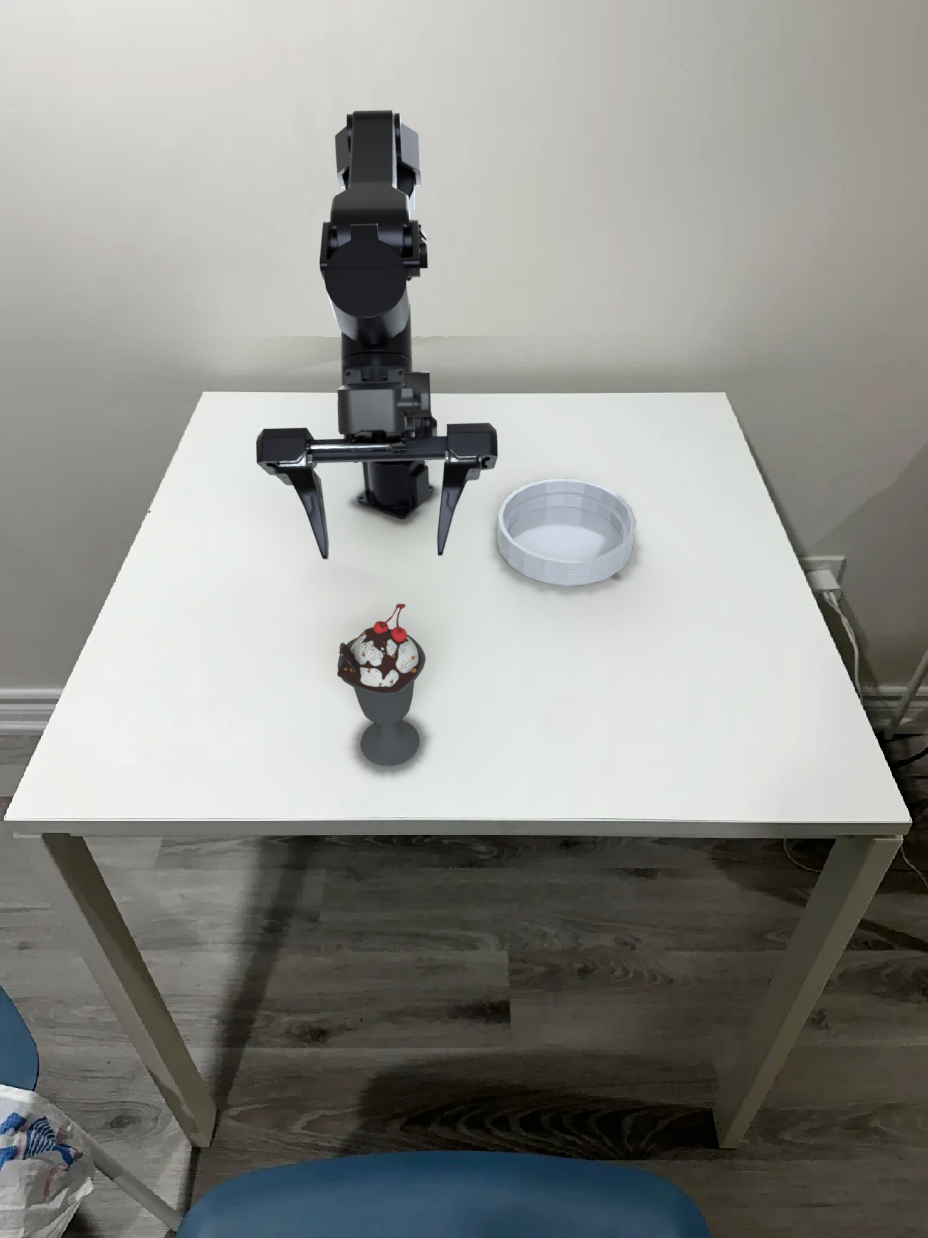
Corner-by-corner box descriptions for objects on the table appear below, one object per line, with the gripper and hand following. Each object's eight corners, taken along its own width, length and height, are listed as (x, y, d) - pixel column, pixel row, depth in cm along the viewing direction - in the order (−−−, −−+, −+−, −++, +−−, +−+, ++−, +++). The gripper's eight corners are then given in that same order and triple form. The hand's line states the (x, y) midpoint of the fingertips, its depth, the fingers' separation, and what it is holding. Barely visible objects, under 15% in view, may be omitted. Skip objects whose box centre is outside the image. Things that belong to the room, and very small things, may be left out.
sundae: (443, 726, 76) (438, 597, 65) (406, 785, 71) (395, 657, 61) (375, 702, 78) (360, 573, 67) (336, 758, 73) (313, 629, 63)
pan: (473, 560, 92) (473, 533, 89) (535, 491, 100) (537, 465, 98) (597, 607, 86) (600, 580, 84) (651, 530, 95) (656, 503, 93)
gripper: (236, 332, 63) (243, 551, 63) (498, 326, 63) (506, 543, 63) (267, 377, 74) (273, 563, 74) (490, 372, 75) (496, 557, 74)
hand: (382, 557), depth 71 cm, fingers open, 9 cm apart
